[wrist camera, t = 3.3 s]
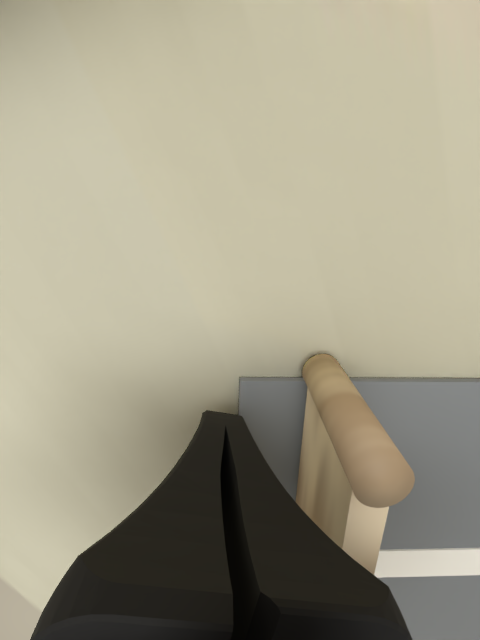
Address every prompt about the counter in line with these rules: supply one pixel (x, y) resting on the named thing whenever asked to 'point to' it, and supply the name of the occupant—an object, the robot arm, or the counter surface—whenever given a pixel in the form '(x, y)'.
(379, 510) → the fence panel
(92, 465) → the counter surface
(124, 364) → the counter surface
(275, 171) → the counter surface
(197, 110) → the counter surface
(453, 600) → the mat
